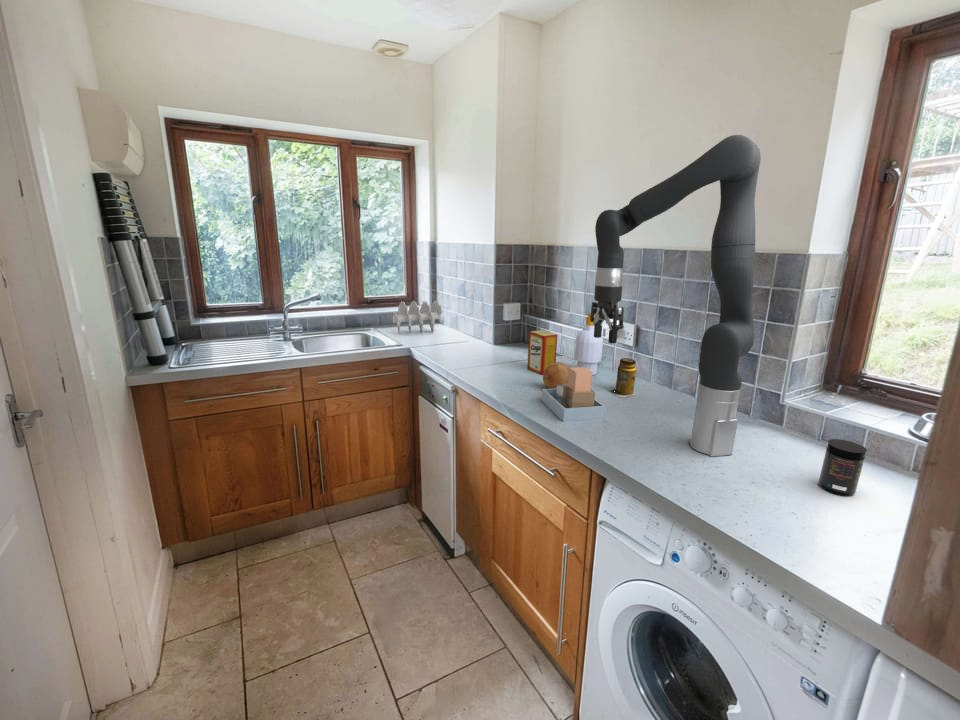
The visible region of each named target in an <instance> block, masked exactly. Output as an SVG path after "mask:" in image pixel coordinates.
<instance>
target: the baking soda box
mask: <svg viewBox="0 0 960 720" xmlns="http://www.w3.org/2000/svg"><path fill="white" fill-rule="evenodd" d="M557 348H558V334H557V333H554V332H549V330H544V329H541V330H533V331H532V330H530V331H529V332H528V348H527V349H528V350H527V351H528V352H527V370H528V371H531V372H533V373H535V374H539V375H541V376H543V374H544V371H545V369H546V368H547V367H548V366H549V365H551V364H553V363H556V362H557Z"/></svg>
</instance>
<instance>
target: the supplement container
mask: <svg viewBox="0 0 960 720" xmlns="http://www.w3.org/2000/svg"><path fill="white" fill-rule="evenodd" d="M867 452H868V450H867V448H866V447H864V446H863V445H861V444H859V443H856V442H853V441H849V440H845V439H841V438H840V439H839V438H831V439H828V440H827V443H826V447H825V452H824V457H823V461H822V465H821V469H820V474H819V478H818V481H817V482H818V484H819V486H820V487H821V488H822V489H823V490H824V491H826V492H829V493H832V494H834V495H837V496H842V497H850V496H853V495H854V494H856V492H857V489H858V485H859V482H860V477H861V474H862V470H863V465H864V462H865V459H866V456H867Z"/></svg>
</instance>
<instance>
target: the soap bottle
mask: <svg viewBox="0 0 960 720" xmlns="http://www.w3.org/2000/svg"><path fill="white" fill-rule="evenodd" d="M587 314H588V316H586V318H585V319H586V320H585V321H586V322H585V329H581V330H580V331H578V333H577V336H576V339H575V349H574V350H575V351H574V359H575V361H577V366H576V367H585V368H587V369H589V370H590V371H592V376H594V375H596V374H597V372H598V363H601V361H602V358H603V357H602V356H603V345H604V339H603V335H601V337H600V338H595V337H594V324H593V322H591V321H590V318H591V312H588V313H587ZM594 316H595V314H594ZM594 318H595V317H594Z"/></svg>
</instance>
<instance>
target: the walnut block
mask: <svg viewBox="0 0 960 720" xmlns="http://www.w3.org/2000/svg"><path fill="white" fill-rule="evenodd" d="M594 399H596V392H595V391H594V390H593V389H591V391H587V392H574V391H573V390H571V389H570V388H569V387H568V386H563V398H562V406H563V407H564V408H579V407H593V406H594Z"/></svg>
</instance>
